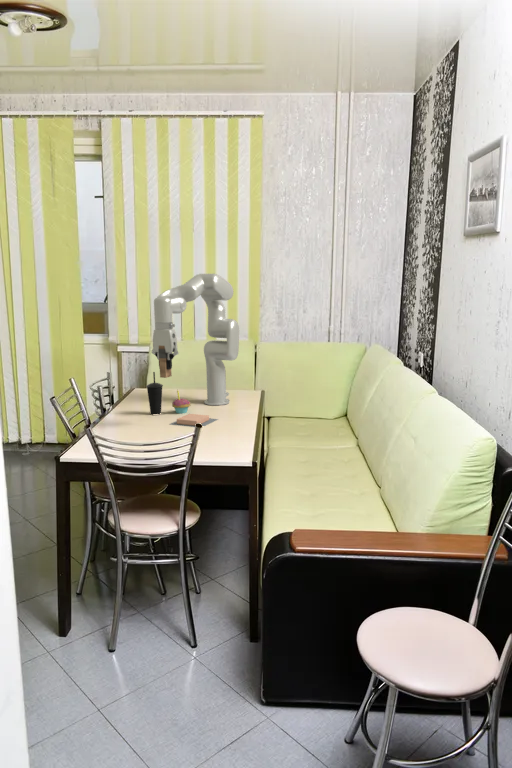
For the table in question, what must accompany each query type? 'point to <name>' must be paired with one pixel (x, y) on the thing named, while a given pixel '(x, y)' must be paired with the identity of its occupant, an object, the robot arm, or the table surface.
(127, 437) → the table surface
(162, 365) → the banded brown box
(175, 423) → the mat
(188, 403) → the cupcake
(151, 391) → the drinking cup
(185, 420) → the tile
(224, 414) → the table surface
